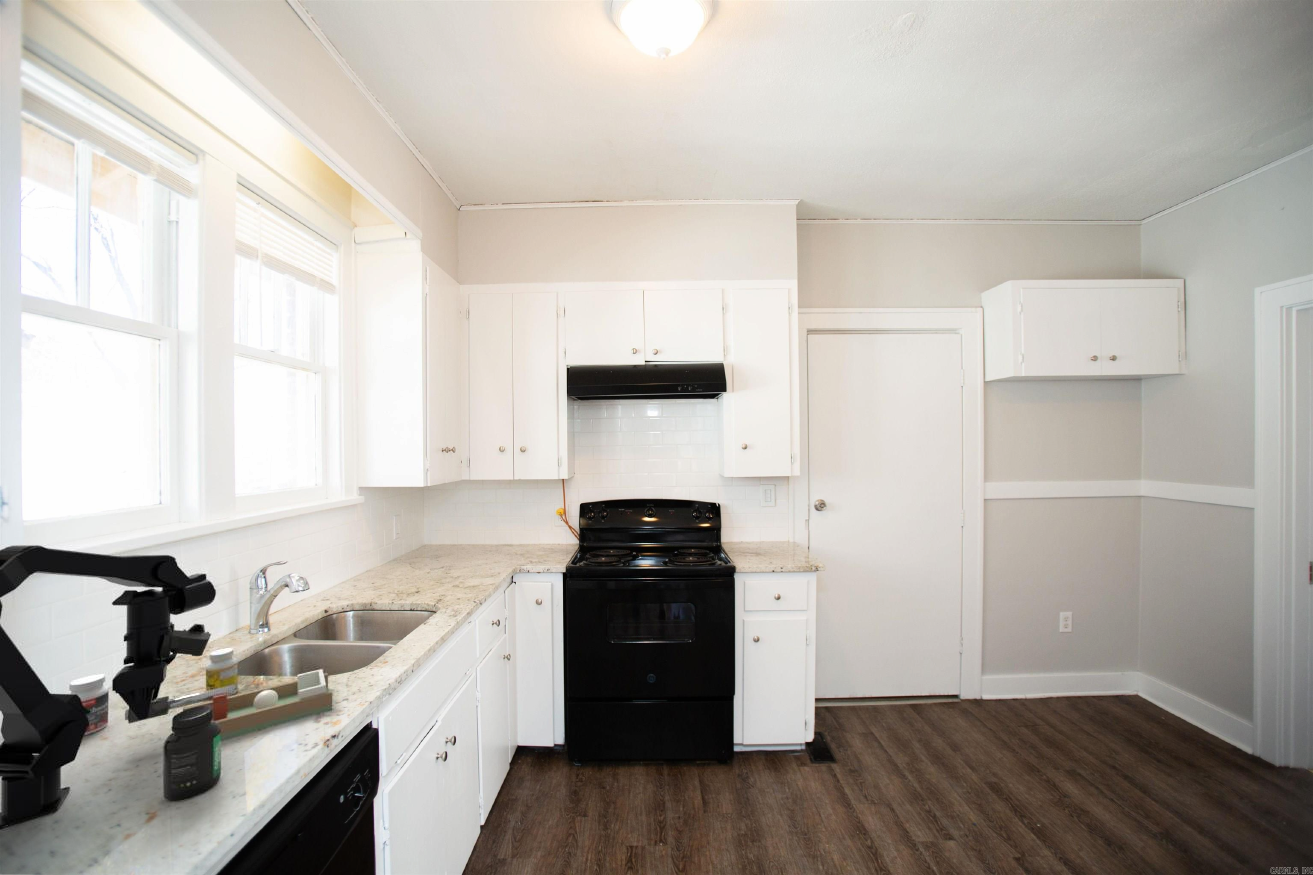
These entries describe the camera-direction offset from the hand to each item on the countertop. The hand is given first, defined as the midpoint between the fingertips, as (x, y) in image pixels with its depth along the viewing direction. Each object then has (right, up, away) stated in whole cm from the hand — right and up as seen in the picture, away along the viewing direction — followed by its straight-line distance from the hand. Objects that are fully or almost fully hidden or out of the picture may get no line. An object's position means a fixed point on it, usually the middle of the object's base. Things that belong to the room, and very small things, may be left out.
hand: (148, 708), depth 93 cm
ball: (+14, -4, +10) cm, 18 cm away
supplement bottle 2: (-4, -8, +20) cm, 21 cm away
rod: (+4, -5, +3) cm, 7 cm away
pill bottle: (-18, -8, +6) cm, 21 cm away
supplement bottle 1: (+19, -7, -12) cm, 24 cm away
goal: (+20, -6, +15) cm, 25 cm away
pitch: (+13, -7, +10) cm, 18 cm away
